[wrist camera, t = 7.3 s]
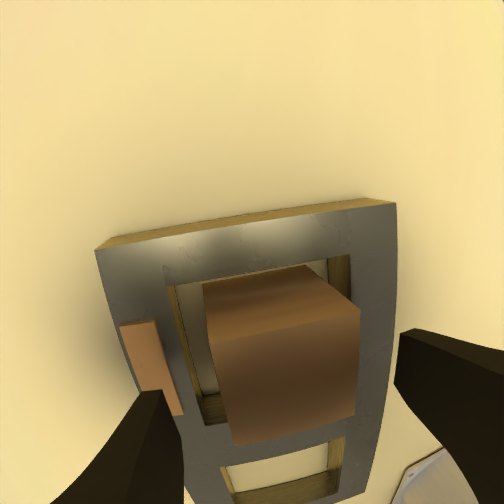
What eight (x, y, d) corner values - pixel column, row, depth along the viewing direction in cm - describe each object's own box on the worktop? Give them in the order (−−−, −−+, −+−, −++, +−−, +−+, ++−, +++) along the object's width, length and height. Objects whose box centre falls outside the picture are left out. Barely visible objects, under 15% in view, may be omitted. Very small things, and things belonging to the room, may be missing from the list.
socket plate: (353, 472, 16) (365, 493, 14) (209, 507, 15) (212, 532, 13) (367, 198, 12) (399, 202, 10) (110, 237, 10) (92, 252, 8)
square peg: (310, 350, 13) (354, 415, 9) (220, 369, 13) (234, 446, 8) (305, 264, 12) (360, 309, 8) (202, 282, 12) (209, 342, 7)
